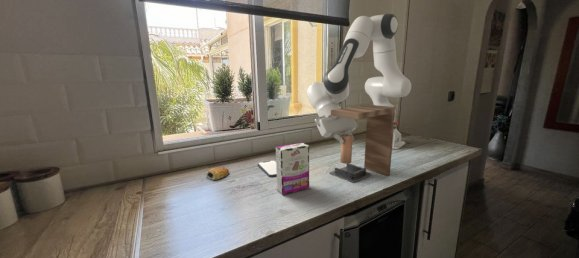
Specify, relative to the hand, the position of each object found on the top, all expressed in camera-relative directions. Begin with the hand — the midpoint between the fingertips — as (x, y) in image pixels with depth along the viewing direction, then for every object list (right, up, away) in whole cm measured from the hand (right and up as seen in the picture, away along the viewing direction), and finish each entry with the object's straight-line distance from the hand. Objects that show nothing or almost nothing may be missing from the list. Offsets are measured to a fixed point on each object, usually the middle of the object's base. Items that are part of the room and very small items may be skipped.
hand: (348, 141), depth 105 cm
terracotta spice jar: (0, -9, +2) cm, 9 cm away
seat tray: (+1, -14, +2) cm, 14 cm away
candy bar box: (-23, -17, -12) cm, 31 cm away
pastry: (-54, -15, +1) cm, 56 cm away
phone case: (-31, -13, +8) cm, 35 cm away
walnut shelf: (+4, -15, -2) cm, 15 cm away
